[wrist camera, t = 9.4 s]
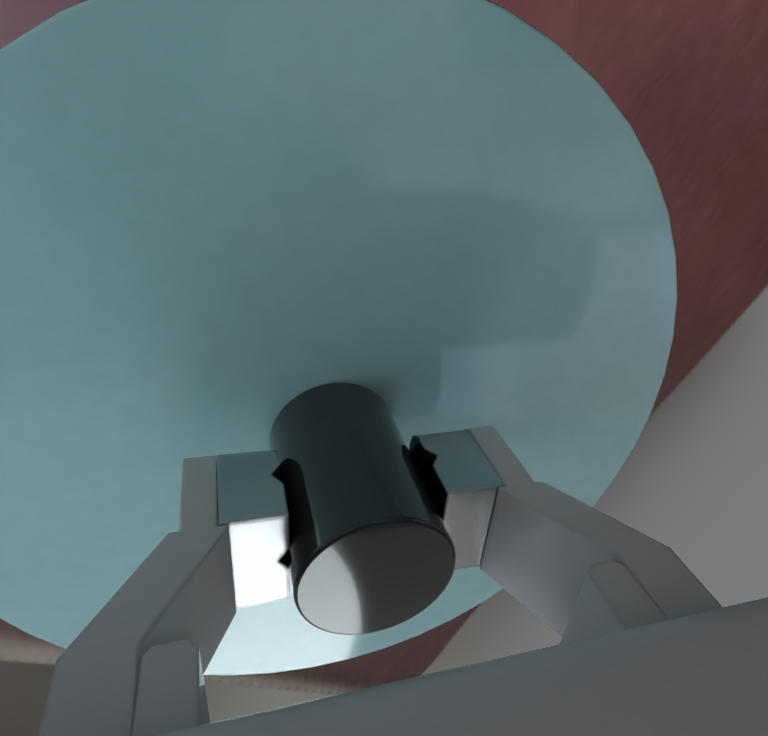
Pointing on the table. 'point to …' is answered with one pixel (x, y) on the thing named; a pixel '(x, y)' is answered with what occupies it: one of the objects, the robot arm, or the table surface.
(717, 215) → the table surface
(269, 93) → the pan lid
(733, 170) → the table surface
